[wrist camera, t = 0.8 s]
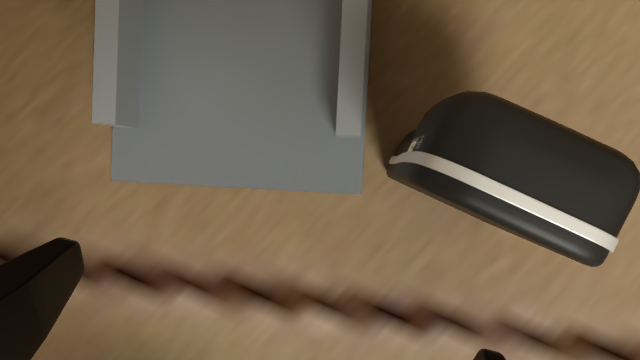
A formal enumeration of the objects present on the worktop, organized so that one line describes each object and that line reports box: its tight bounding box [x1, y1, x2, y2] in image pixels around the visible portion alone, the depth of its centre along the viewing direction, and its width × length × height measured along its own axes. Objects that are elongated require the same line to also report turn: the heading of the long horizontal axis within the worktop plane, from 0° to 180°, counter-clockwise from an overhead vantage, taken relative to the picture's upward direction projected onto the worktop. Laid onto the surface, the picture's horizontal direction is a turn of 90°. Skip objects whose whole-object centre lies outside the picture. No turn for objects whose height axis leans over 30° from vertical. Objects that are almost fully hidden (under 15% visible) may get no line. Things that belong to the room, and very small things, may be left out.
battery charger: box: [387, 91, 640, 267], centre depth 18 cm, size 7×4×11 cm, turn 65°
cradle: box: [92, 0, 372, 194], centre depth 23 cm, size 16×14×3 cm
